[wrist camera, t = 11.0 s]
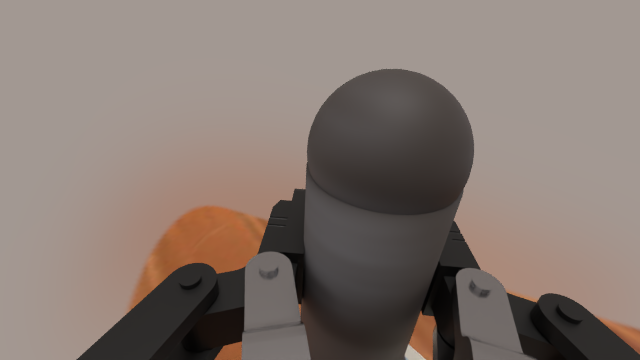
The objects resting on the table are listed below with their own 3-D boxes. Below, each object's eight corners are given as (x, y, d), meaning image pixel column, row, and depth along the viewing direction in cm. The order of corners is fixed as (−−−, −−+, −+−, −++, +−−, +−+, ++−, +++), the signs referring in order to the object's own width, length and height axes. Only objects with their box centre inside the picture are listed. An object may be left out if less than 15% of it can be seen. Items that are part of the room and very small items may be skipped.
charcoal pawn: (343, 301, 16) (381, 50, 10) (425, 378, 13) (563, 82, 6) (263, 364, 13) (241, 58, 7) (346, 485, 10) (454, 127, 4)
